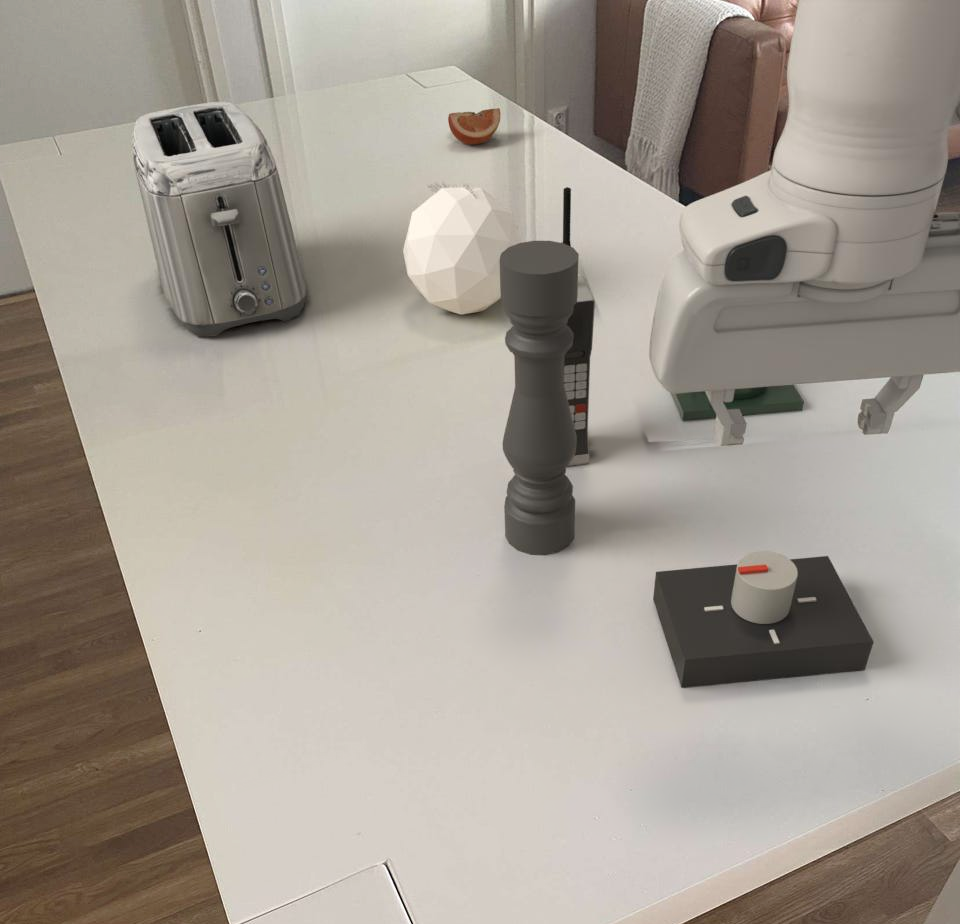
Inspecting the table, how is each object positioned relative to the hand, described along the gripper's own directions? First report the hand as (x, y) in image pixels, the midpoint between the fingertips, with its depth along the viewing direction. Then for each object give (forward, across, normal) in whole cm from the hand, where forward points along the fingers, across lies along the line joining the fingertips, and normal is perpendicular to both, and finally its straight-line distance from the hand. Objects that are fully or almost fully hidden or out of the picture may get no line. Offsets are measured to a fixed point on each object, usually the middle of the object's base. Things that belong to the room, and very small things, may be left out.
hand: (800, 435), depth 65 cm
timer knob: (+16, 0, -1) cm, 16 cm away
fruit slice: (+19, +13, -117) cm, 119 cm away
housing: (+19, -7, -35) cm, 40 cm away
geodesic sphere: (+19, +18, -61) cm, 66 cm away
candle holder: (+19, +15, -16) cm, 29 cm away
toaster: (+19, +48, -70) cm, 87 cm away
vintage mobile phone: (+19, +11, -28) cm, 36 cm away
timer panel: (+19, 0, -1) cm, 19 cm away
